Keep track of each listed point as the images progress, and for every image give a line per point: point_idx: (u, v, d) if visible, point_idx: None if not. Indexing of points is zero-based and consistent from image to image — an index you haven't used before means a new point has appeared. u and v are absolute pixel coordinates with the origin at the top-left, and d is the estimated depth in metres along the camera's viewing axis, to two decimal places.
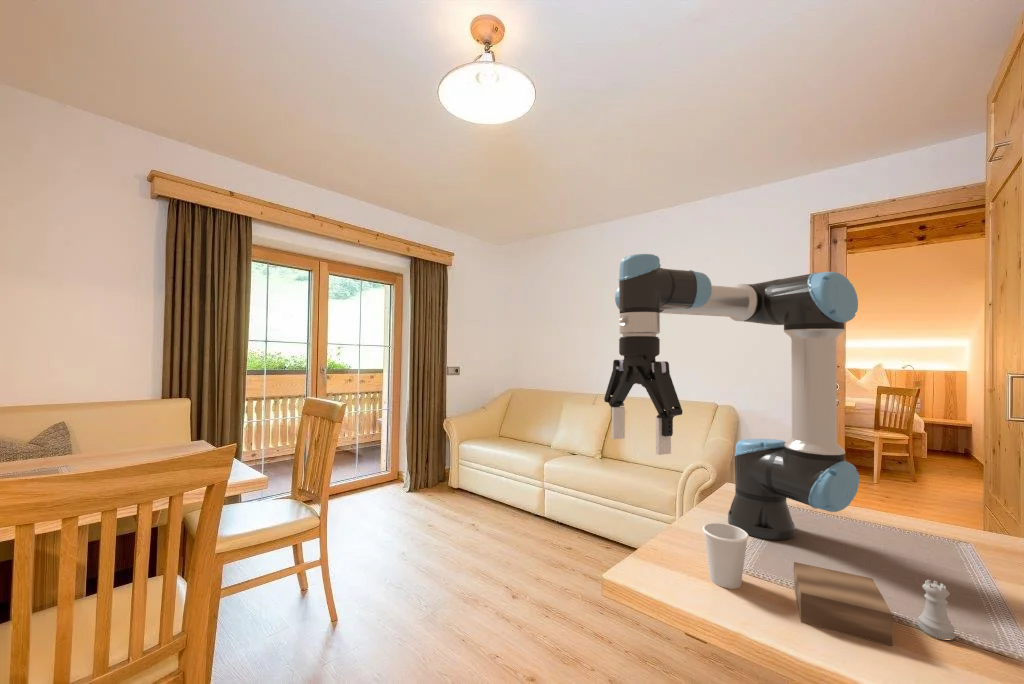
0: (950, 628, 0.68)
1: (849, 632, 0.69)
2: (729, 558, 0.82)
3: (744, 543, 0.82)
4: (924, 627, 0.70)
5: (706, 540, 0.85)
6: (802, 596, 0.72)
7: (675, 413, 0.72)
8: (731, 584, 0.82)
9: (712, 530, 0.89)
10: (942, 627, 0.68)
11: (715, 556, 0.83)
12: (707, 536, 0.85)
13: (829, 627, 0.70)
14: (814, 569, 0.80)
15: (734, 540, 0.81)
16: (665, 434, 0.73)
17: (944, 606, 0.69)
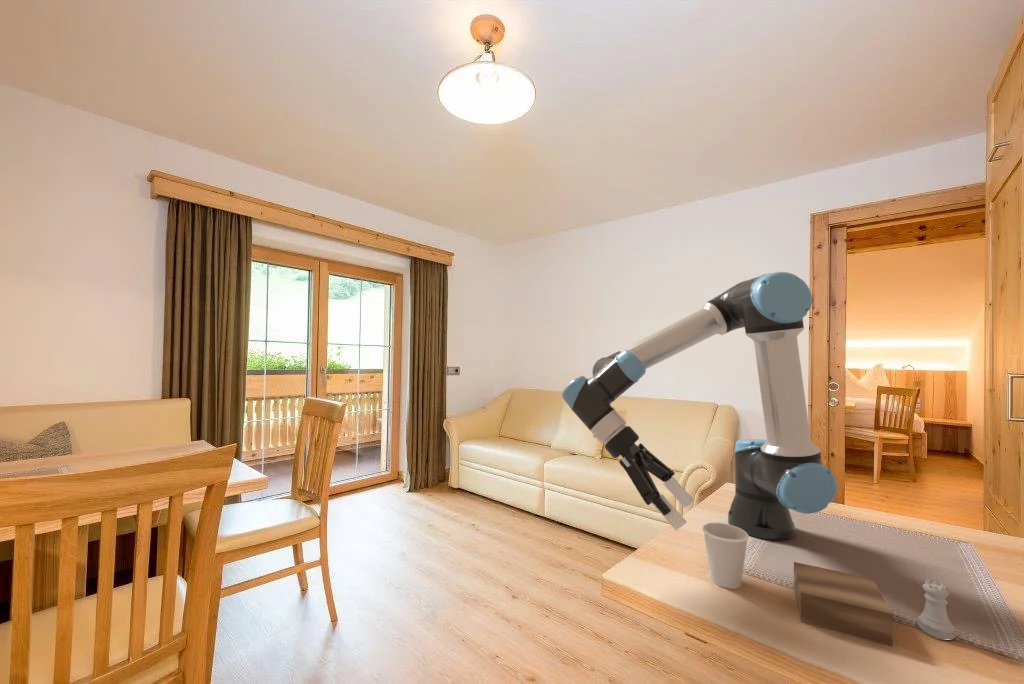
0: (950, 628, 0.68)
1: (849, 632, 0.69)
2: (729, 558, 0.82)
3: (744, 543, 0.82)
4: (924, 627, 0.70)
5: (706, 540, 0.85)
6: (802, 596, 0.72)
7: (648, 499, 0.82)
8: (731, 584, 0.82)
9: (712, 530, 0.89)
10: (942, 627, 0.68)
11: (715, 556, 0.83)
12: (707, 536, 0.85)
13: (829, 627, 0.70)
14: (814, 569, 0.80)
15: (734, 540, 0.81)
16: None
17: (944, 606, 0.69)
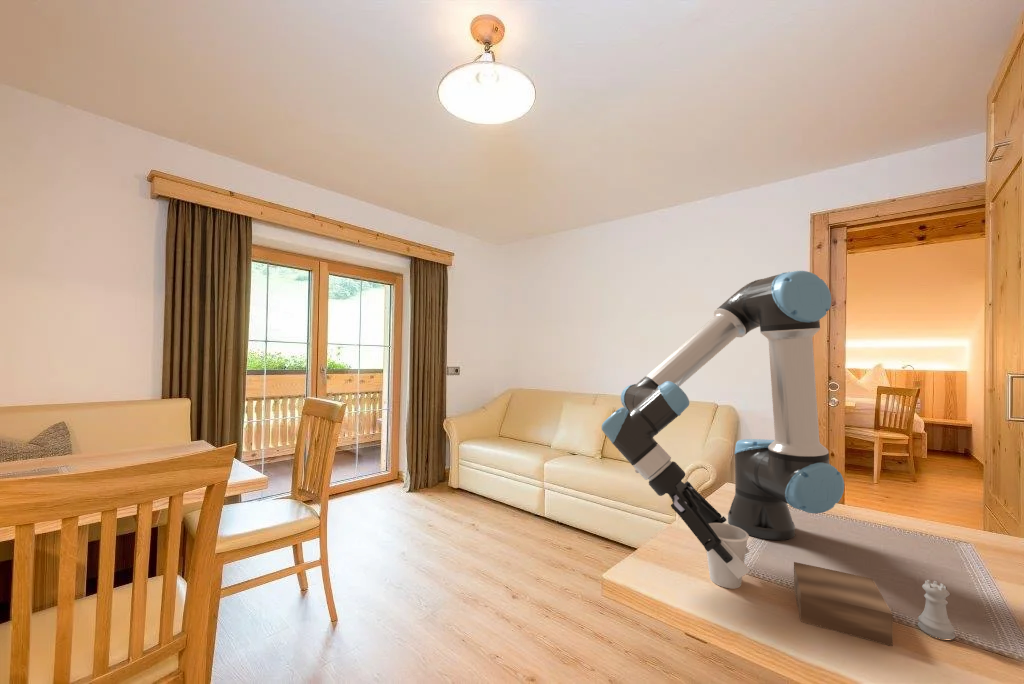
0: (950, 628, 0.68)
1: (849, 632, 0.69)
2: None
3: (744, 543, 0.82)
4: (924, 627, 0.70)
5: None
6: (802, 596, 0.72)
7: (710, 546, 0.79)
8: (731, 584, 0.82)
9: None
10: (942, 627, 0.68)
11: (715, 556, 0.83)
12: None
13: (829, 627, 0.70)
14: (814, 569, 0.80)
15: (734, 539, 0.81)
16: (725, 561, 0.80)
17: (944, 606, 0.69)
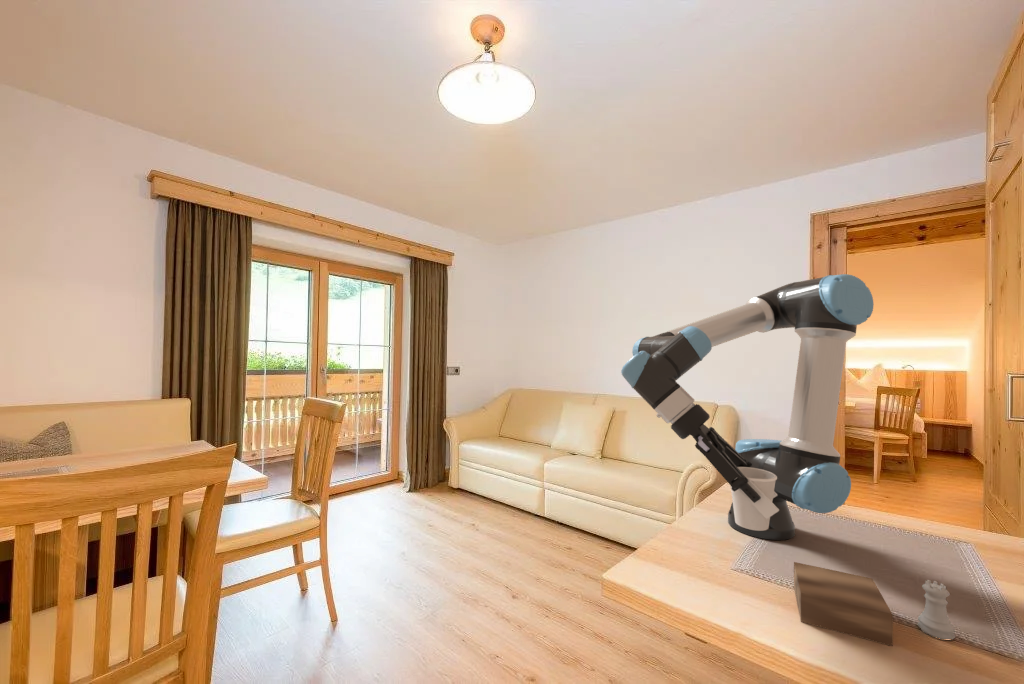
0: (950, 628, 0.68)
1: (849, 632, 0.69)
2: None
3: (772, 483, 0.78)
4: (924, 627, 0.70)
5: None
6: (802, 596, 0.72)
7: (737, 484, 0.76)
8: (758, 526, 0.79)
9: None
10: (942, 627, 0.68)
11: (741, 497, 0.80)
12: None
13: (829, 627, 0.70)
14: (814, 569, 0.80)
15: (762, 479, 0.78)
16: (753, 501, 0.76)
17: (944, 606, 0.69)
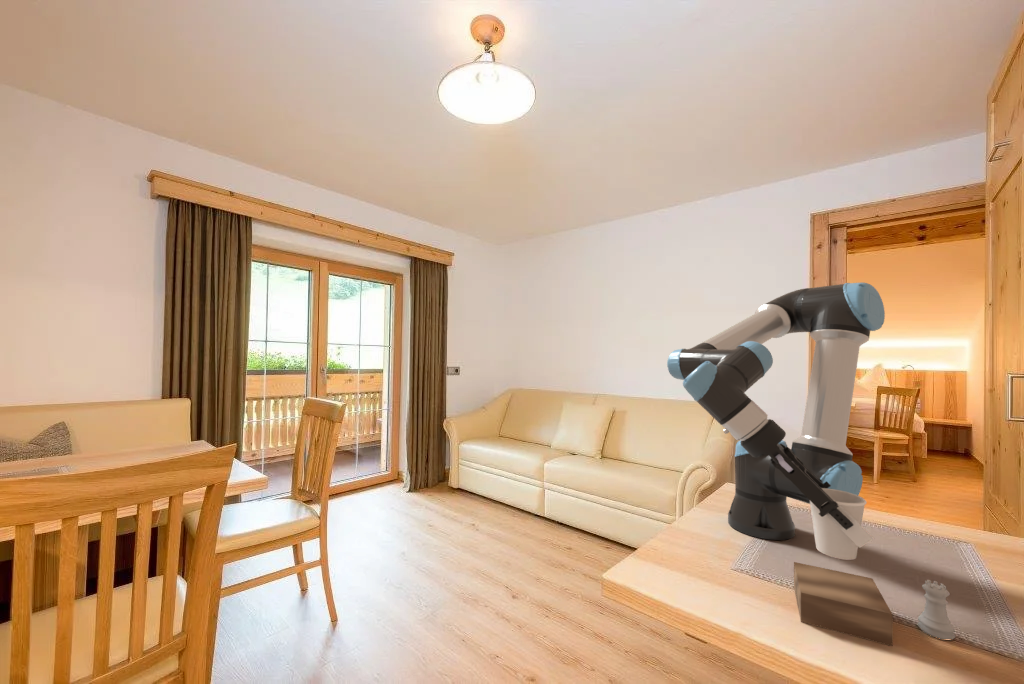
0: (950, 628, 0.68)
1: (849, 632, 0.69)
2: None
3: (862, 508, 0.72)
4: (924, 627, 0.70)
5: (814, 506, 0.75)
6: (802, 596, 0.72)
7: (827, 510, 0.69)
8: (847, 555, 0.72)
9: None
10: (942, 627, 0.68)
11: (827, 523, 0.73)
12: None
13: (829, 627, 0.70)
14: (814, 569, 0.80)
15: (853, 503, 0.71)
16: (844, 527, 0.70)
17: (944, 606, 0.69)
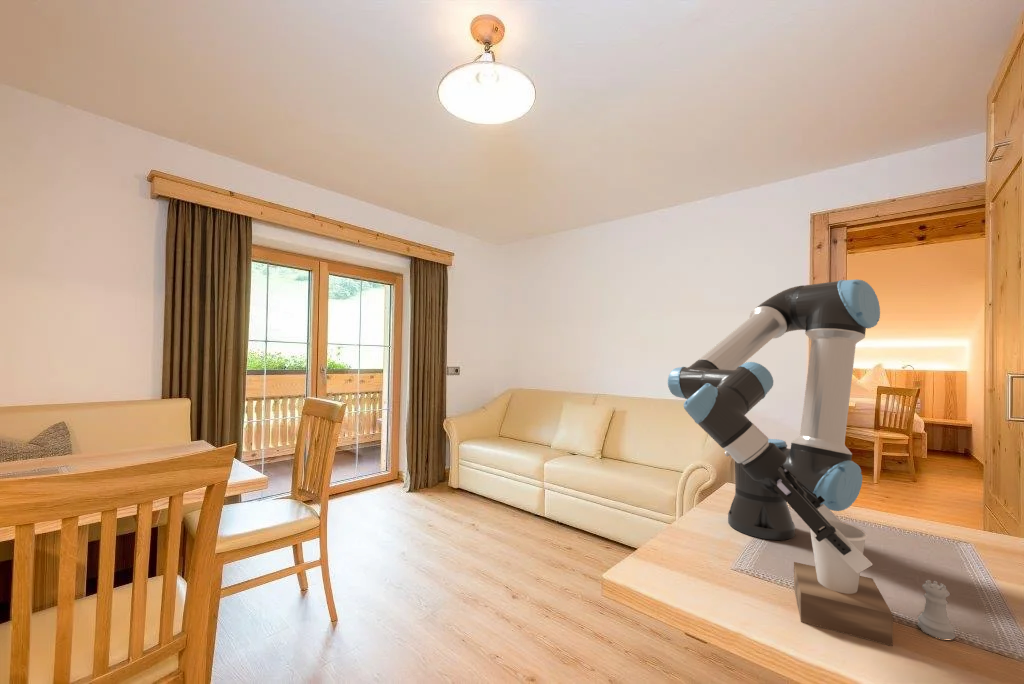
0: (950, 628, 0.68)
1: (849, 632, 0.69)
2: None
3: (863, 542, 0.72)
4: (924, 627, 0.70)
5: (815, 539, 0.75)
6: (802, 596, 0.72)
7: (825, 535, 0.68)
8: (848, 589, 0.72)
9: None
10: (942, 627, 0.68)
11: (828, 557, 0.73)
12: None
13: (829, 627, 0.70)
14: (814, 569, 0.80)
15: (853, 538, 0.71)
16: (842, 553, 0.68)
17: (944, 606, 0.69)
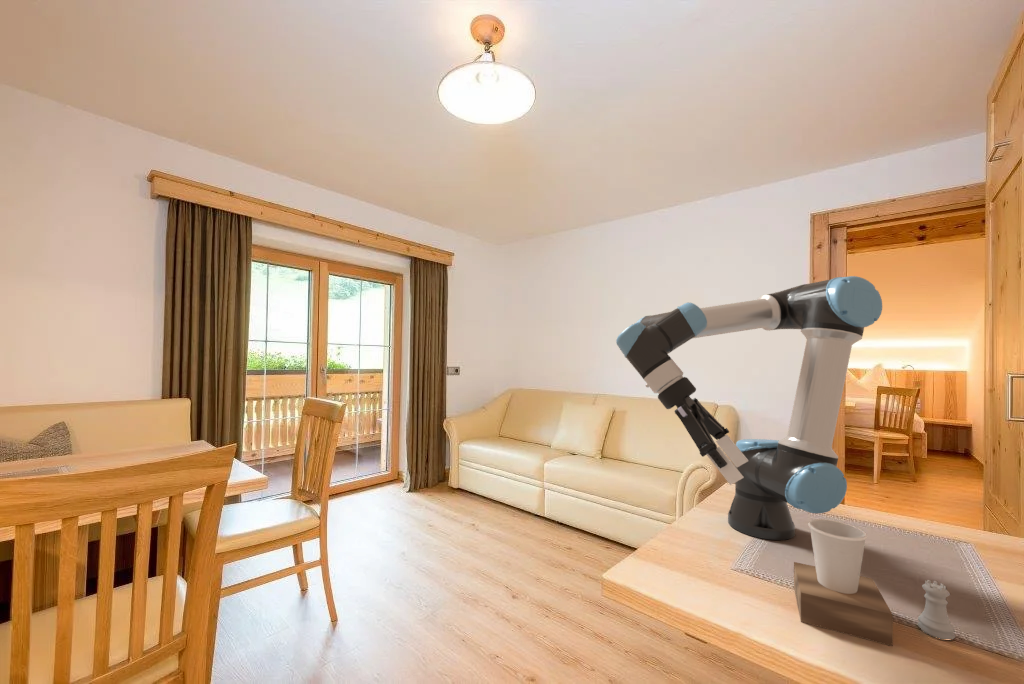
0: (950, 628, 0.68)
1: (849, 632, 0.69)
2: (847, 559, 0.72)
3: (863, 542, 0.72)
4: (924, 627, 0.70)
5: (815, 538, 0.75)
6: (802, 596, 0.72)
7: (705, 449, 0.78)
8: (848, 589, 0.72)
9: (817, 527, 0.78)
10: (942, 627, 0.68)
11: (828, 557, 0.73)
12: (817, 534, 0.74)
13: (829, 627, 0.70)
14: (814, 569, 0.80)
15: (854, 538, 0.71)
16: (719, 466, 0.79)
17: (944, 606, 0.69)
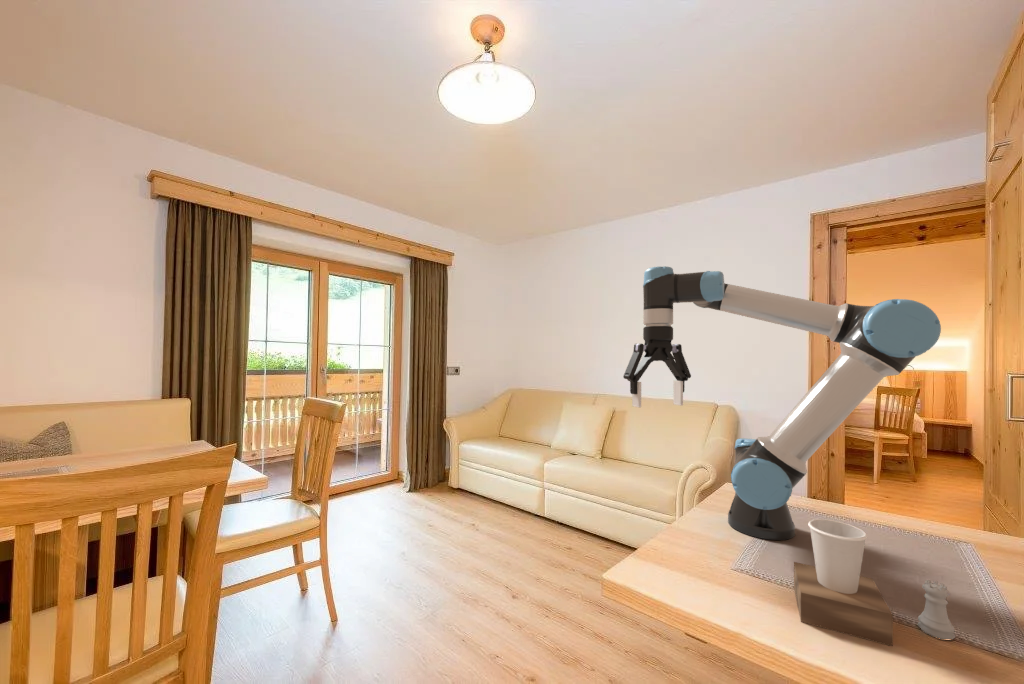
0: (950, 628, 0.68)
1: (849, 632, 0.69)
2: (847, 559, 0.71)
3: (863, 542, 0.72)
4: (924, 627, 0.70)
5: (815, 539, 0.75)
6: (802, 596, 0.72)
7: (625, 377, 1.08)
8: (848, 589, 0.72)
9: (817, 527, 0.78)
10: (942, 627, 0.68)
11: (828, 557, 0.73)
12: (817, 534, 0.74)
13: (829, 627, 0.70)
14: (814, 569, 0.80)
15: (854, 538, 0.71)
16: (631, 392, 1.09)
17: (944, 606, 0.69)
